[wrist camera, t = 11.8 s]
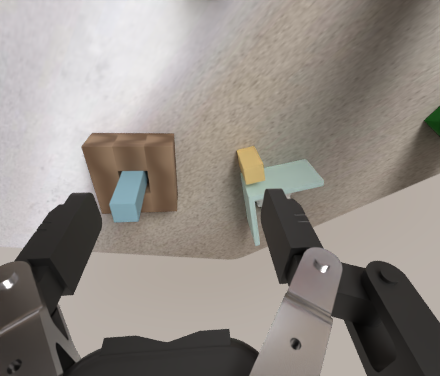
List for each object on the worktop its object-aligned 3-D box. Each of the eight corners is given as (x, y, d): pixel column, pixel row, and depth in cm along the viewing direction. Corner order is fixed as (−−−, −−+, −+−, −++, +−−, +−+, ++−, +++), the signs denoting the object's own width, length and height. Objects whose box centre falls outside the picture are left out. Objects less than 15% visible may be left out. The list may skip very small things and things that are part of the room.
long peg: (147, 156, 39) (135, 203, 29) (149, 171, 41) (138, 221, 31) (128, 156, 38) (109, 204, 29) (131, 172, 40) (114, 222, 31)
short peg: (253, 146, 40) (263, 164, 35) (256, 161, 42) (265, 180, 37) (236, 150, 40) (243, 169, 35) (239, 165, 42) (246, 184, 37)
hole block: (173, 133, 37) (172, 146, 33) (177, 194, 44) (177, 211, 40) (91, 133, 36) (81, 146, 32) (109, 196, 43) (102, 213, 39)
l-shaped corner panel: (246, 218, 51) (255, 245, 45) (239, 171, 43) (248, 197, 37) (302, 206, 50) (318, 232, 44) (304, 157, 43) (323, 180, 37)
